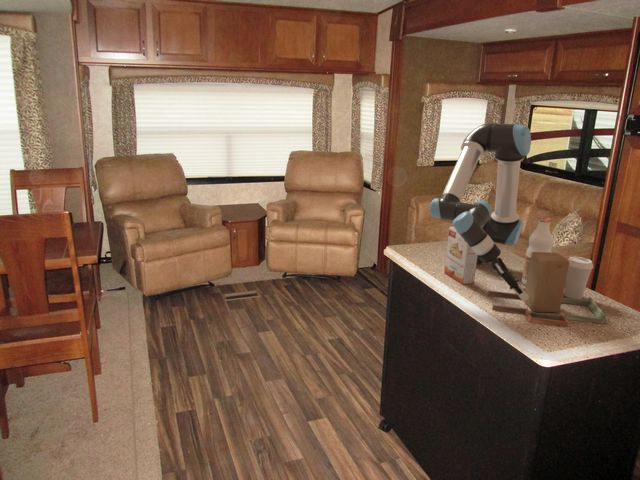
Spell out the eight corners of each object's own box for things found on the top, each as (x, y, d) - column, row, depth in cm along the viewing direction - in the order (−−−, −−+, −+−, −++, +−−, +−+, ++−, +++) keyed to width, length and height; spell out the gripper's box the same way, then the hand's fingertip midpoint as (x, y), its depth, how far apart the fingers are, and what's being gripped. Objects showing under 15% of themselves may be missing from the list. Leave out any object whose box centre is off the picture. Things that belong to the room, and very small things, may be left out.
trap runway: (485, 287, 198) (486, 280, 198) (584, 298, 192) (585, 291, 191) (495, 317, 172) (496, 309, 171) (610, 331, 165) (612, 323, 164)
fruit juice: (519, 278, 210) (530, 214, 202) (543, 281, 208) (555, 216, 200) (523, 286, 201) (534, 220, 193) (547, 289, 199) (560, 222, 191)
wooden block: (560, 313, 177) (571, 261, 171) (532, 312, 177) (542, 259, 171) (548, 302, 187) (558, 252, 181) (522, 301, 187) (530, 250, 181)
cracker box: (443, 272, 213) (448, 226, 207) (455, 271, 215) (461, 225, 209) (461, 284, 200) (468, 235, 194) (474, 283, 202) (481, 234, 196)
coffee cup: (591, 301, 189) (599, 264, 185) (568, 301, 189) (575, 264, 184) (577, 291, 198) (584, 256, 194) (554, 291, 198) (561, 255, 193)
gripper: (475, 250, 186) (514, 297, 187) (478, 261, 173) (519, 311, 175) (492, 238, 183) (531, 286, 185) (496, 248, 171) (538, 300, 173)
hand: (525, 298), depth 180 cm, fingers closed
